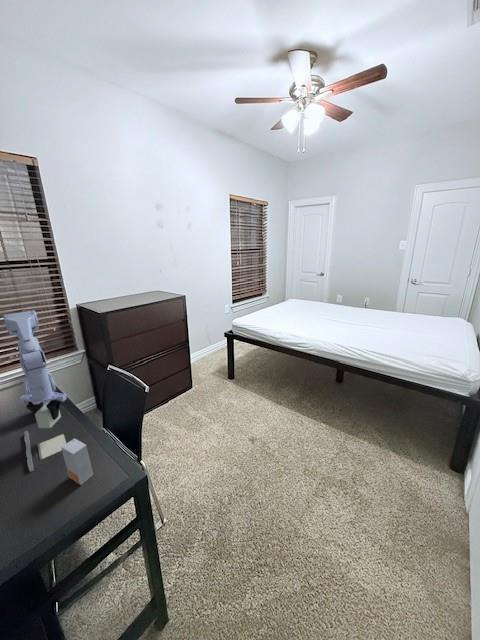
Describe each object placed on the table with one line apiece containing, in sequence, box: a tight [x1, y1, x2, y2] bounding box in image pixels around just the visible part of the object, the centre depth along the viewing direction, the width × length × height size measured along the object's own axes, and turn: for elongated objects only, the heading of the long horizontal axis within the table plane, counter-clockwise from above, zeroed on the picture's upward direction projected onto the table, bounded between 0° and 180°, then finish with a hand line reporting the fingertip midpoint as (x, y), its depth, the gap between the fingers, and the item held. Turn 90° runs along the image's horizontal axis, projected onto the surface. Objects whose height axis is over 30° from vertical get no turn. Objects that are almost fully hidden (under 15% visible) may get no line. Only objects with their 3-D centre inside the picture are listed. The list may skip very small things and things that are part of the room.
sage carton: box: [34, 403, 62, 429], centre depth 94 cm, size 4×6×6 cm
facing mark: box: [36, 433, 68, 461], centre depth 94 cm, size 9×8×1 cm
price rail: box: [23, 430, 35, 472], centre depth 92 cm, size 22×1×2 cm, turn 41°
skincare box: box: [61, 438, 94, 486], centre depth 80 cm, size 6×4×12 cm
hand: (49, 418), depth 94 cm, fingers closed on sage carton, 4 cm apart
